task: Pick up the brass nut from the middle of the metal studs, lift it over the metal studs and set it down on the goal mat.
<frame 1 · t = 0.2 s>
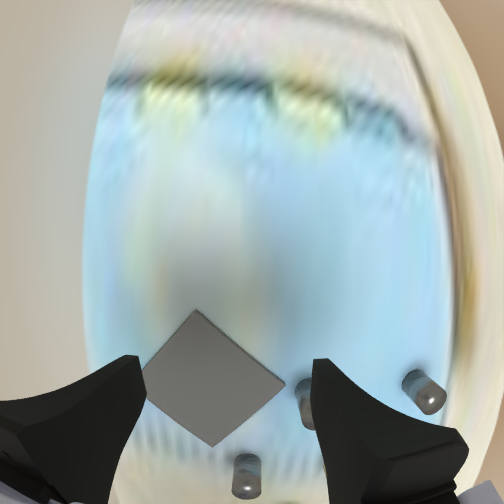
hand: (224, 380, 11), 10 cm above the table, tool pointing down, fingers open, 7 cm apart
metal studs: (348, 458, 22), on the table
goal mat: (204, 385, 22), on the table
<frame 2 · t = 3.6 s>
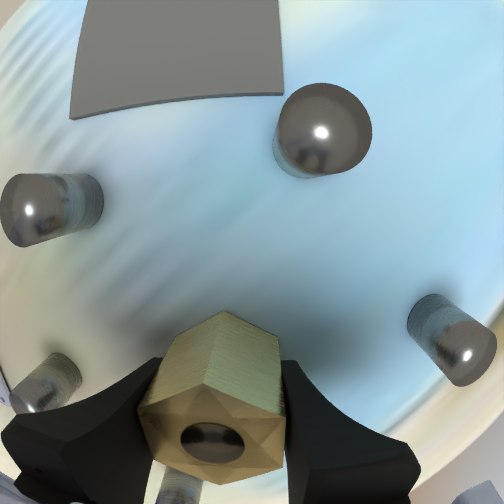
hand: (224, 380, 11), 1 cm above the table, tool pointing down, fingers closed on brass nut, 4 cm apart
brass nut: (227, 362, 13), on the table, touching gripper
metal studs: (227, 362, 13), on the table
goal mat: (172, 13, 10), on the table
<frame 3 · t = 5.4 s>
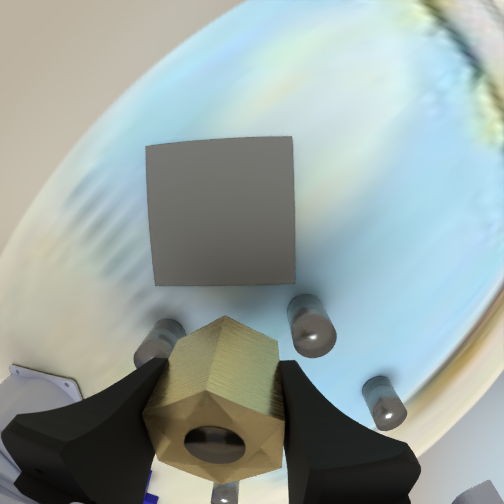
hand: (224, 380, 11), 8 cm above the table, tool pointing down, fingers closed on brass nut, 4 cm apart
brass nut: (228, 365, 13), point 7 cm above the table, touching gripper
metal studs: (259, 412, 22), on the table
cable clip: (141, 488, 26), on the table
goal mat: (219, 212, 18), on the table
when the fingers open (3 cm above the table, at t = 7.6 s): brass nut drops 1 cm, resting on goal mat.
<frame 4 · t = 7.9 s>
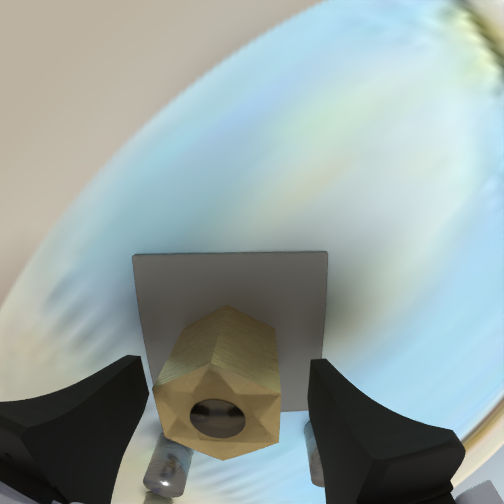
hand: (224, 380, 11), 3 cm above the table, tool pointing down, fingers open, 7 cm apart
brass nut: (229, 351, 14), resting on goal mat
metal studs: (268, 498, 18), on the table
goal mat: (231, 341, 15), on the table
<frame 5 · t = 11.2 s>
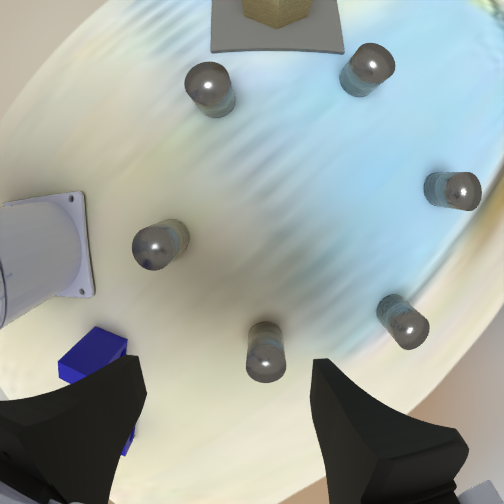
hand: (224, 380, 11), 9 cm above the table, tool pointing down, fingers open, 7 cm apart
brass nut: (274, 3, 16), resting on goal mat
metal studs: (314, 209, 19), on the table
cable clip: (116, 387, 23), on the table
goal mat: (275, 2, 16), on the table
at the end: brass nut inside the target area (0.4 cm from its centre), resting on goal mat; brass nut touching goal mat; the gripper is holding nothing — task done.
